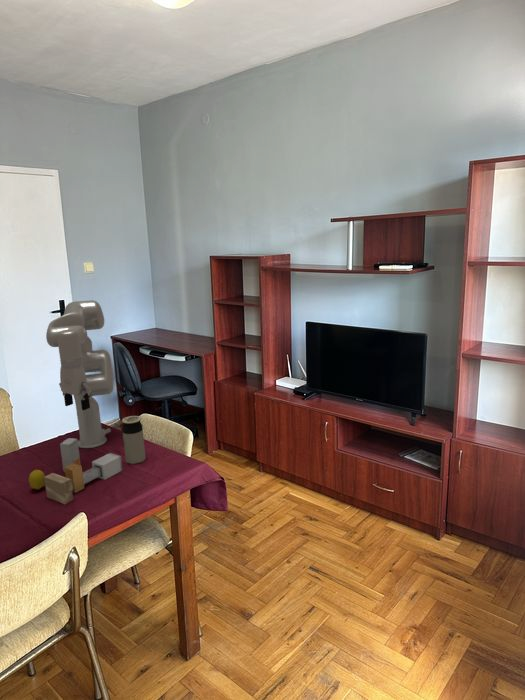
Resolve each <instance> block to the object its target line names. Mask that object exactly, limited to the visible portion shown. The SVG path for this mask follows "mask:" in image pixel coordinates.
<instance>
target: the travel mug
mask: <svg viewBox="0 0 525 700" xmlns="http://www.w3.org/2000/svg"><path fill="white" fill-rule="evenodd" d="M141 420H142V418H141V416H139V415H130V416H126V417H123V418H122V420H121V422H122V424H123V425H122V428H121V430H122V438H123V439H122V440H123V447H124V448H123V449H124V455H125V462H126V463H127V464H133V465H134V464H140V463H142V462H144V461H145V460H146V449H145V440H144V439H145V437H144V428H143V424H142V422H141Z"/></svg>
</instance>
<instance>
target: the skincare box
mask: <svg viewBox="0 0 525 700" xmlns="http://www.w3.org/2000/svg"><path fill="white" fill-rule="evenodd" d="M78 441H79V439H78V438H73V437H72V438H71V437H69V438H66V439H64V440H63V441H62V442H61V443H60V444H59V446H60V447H59V448H60V455H61V461H62V470H63V471H62V472H64V473H65V469H64V468H65V467H67V466H69V465H71V464H73V463H75V464H78V465H81V464H82V463H81V459H80V457H81V456H80V450H79V448H80V447H78ZM81 466H82V465H81Z"/></svg>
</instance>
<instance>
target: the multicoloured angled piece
mask: <svg viewBox="0 0 525 700" xmlns="http://www.w3.org/2000/svg"><path fill="white" fill-rule="evenodd" d="M82 467H83V466H82V465H78V464H75V463H73V464H71V465H69V466H67V467H65V468H64V469H65V472H64V474H65V476H64V477H66V478H68V479H70V480H71V487H72V493H73V494H76V493H78V492H80V491H82V490H83V489H85V484H88V483H89V482H91V481H93V480H95V479H98V477H99V476H101V475H102V468H101V467H100V466H95V467H93V468H92V467H91V468H89V469H87V470H85V471H83V468H82Z"/></svg>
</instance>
